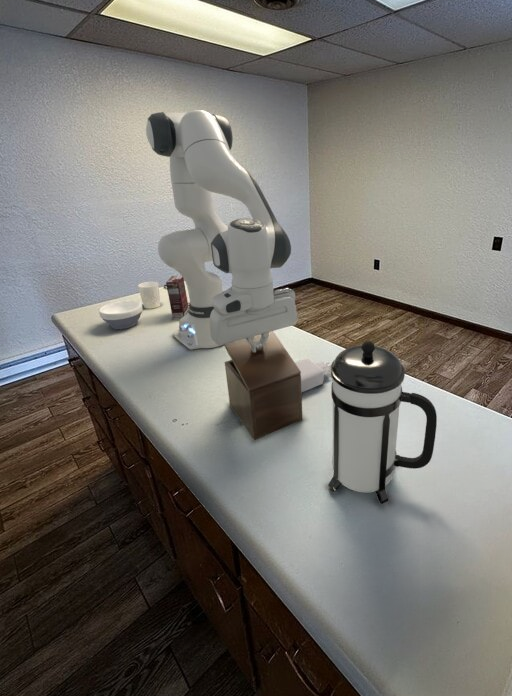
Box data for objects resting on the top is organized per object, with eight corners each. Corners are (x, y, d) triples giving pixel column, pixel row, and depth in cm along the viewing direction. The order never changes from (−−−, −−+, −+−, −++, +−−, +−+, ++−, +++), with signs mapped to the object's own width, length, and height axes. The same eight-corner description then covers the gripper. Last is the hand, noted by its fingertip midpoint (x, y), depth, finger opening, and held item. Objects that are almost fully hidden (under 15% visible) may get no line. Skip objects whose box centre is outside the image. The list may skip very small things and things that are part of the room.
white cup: (138, 308, 155) (133, 286, 151) (149, 302, 162) (145, 281, 159) (155, 309, 154) (150, 287, 150) (165, 303, 161) (161, 281, 157)
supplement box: (177, 311, 152) (171, 275, 146) (189, 311, 152) (184, 275, 146) (172, 320, 144) (165, 282, 138) (184, 319, 144) (178, 281, 138)
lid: (221, 341, 86) (221, 339, 86) (269, 328, 93) (269, 326, 92) (249, 392, 76) (249, 390, 76) (300, 374, 83) (301, 371, 82)
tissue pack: (340, 378, 104) (296, 396, 96) (321, 364, 111) (279, 381, 103) (340, 364, 102) (295, 381, 94) (321, 351, 109) (278, 366, 101)
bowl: (133, 314, 149) (129, 297, 146) (152, 322, 141) (149, 304, 139) (96, 326, 138) (91, 308, 136) (115, 336, 130) (110, 317, 128)
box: (229, 404, 93) (224, 361, 88) (273, 388, 100) (270, 347, 95) (254, 440, 81) (249, 393, 76) (302, 419, 88) (300, 374, 83)
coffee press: (348, 526, 62) (352, 377, 51) (314, 460, 75) (311, 331, 64) (430, 491, 68) (449, 352, 57) (384, 437, 82) (393, 316, 71)
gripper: (288, 282, 87) (290, 334, 92) (203, 300, 77) (211, 356, 82) (301, 289, 82) (303, 343, 88) (212, 309, 72) (220, 369, 77)
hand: (258, 350), depth 85 cm, fingers closed, pressing on lid
